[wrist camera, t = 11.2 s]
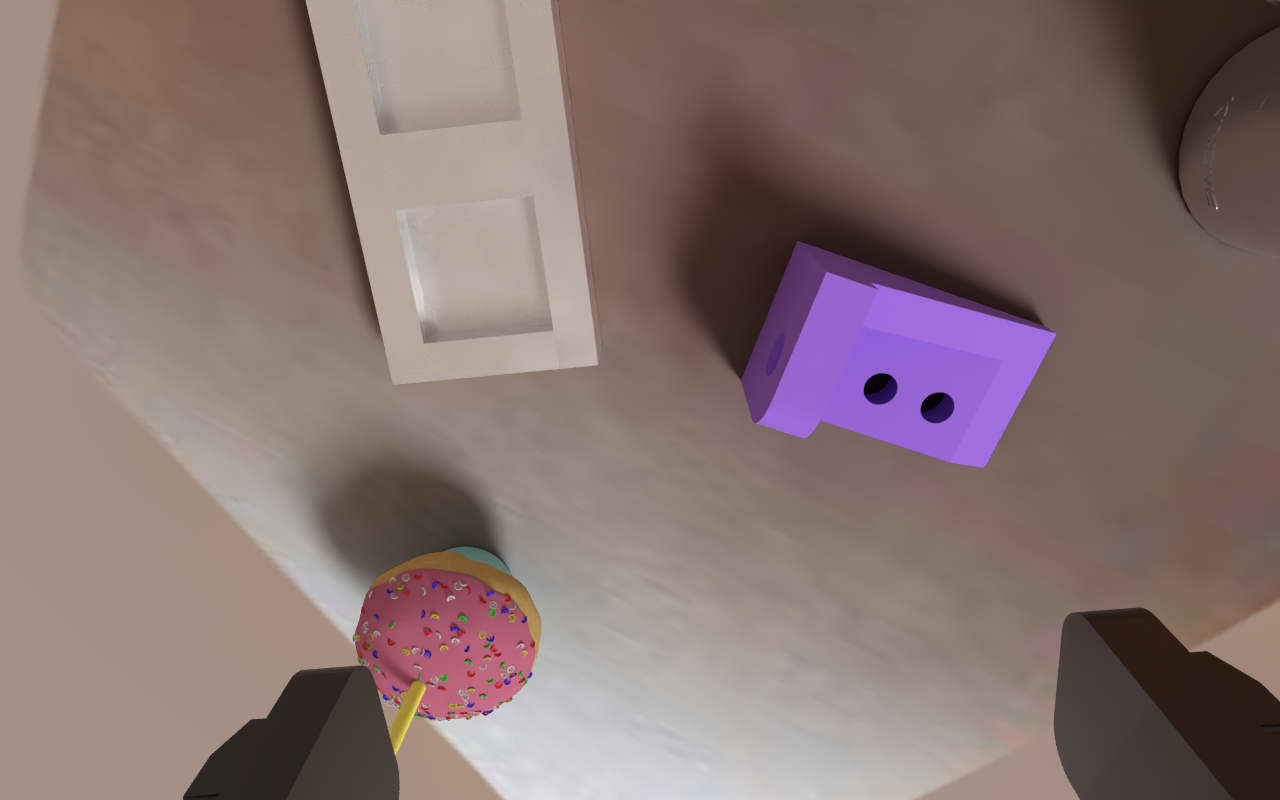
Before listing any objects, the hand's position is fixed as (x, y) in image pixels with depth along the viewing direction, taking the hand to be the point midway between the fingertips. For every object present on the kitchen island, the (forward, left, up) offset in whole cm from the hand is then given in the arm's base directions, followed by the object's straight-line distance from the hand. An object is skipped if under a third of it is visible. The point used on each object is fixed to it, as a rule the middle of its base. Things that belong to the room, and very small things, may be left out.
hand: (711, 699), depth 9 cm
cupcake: (+12, +16, -28) cm, 35 cm away
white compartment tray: (+8, -9, -28) cm, 31 cm away
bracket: (-10, +6, -29) cm, 31 cm away
